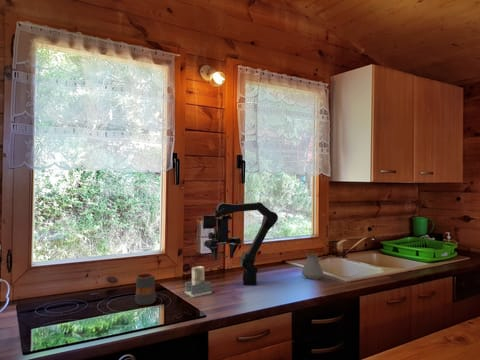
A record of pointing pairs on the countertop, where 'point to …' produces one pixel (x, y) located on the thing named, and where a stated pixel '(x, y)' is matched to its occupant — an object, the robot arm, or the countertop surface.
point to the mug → (145, 289)
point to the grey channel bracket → (198, 288)
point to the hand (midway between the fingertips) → (223, 259)
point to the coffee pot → (313, 266)
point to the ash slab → (197, 275)
